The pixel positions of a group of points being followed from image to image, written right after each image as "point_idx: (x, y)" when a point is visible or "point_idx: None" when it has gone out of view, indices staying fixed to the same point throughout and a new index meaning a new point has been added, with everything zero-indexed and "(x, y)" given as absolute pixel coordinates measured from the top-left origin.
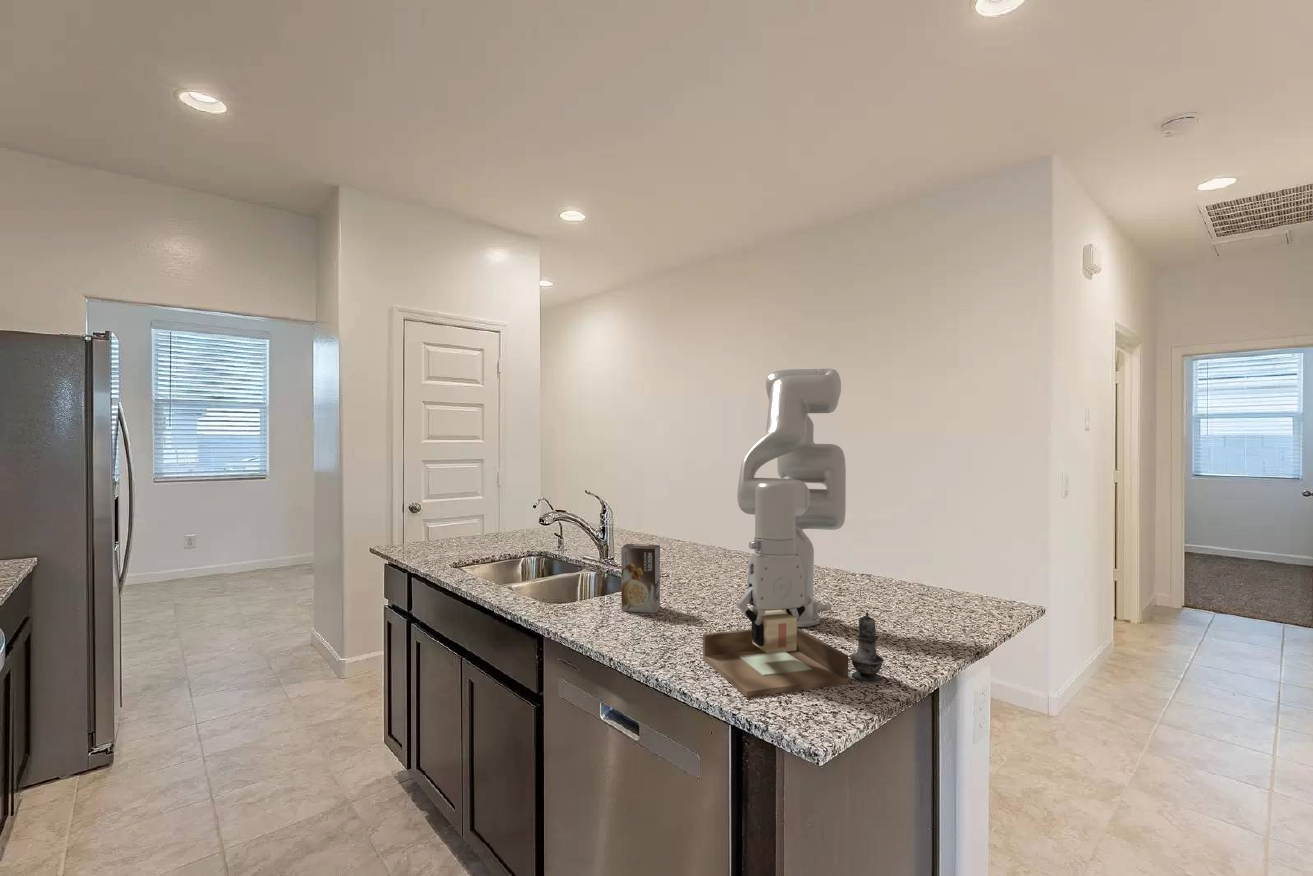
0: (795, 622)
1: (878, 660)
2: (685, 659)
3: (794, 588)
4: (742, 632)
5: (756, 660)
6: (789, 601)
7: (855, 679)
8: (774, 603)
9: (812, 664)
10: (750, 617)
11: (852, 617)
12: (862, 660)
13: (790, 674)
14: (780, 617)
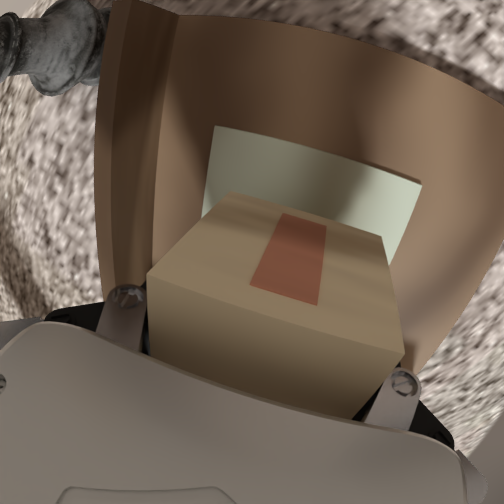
0: (173, 258)
1: (50, 11)
2: (427, 393)
3: (8, 489)
4: None
5: None
6: (132, 418)
7: None
8: (330, 473)
9: (180, 162)
10: (433, 421)
11: (8, 319)
12: (81, 16)
13: (325, 130)
14: (255, 349)
